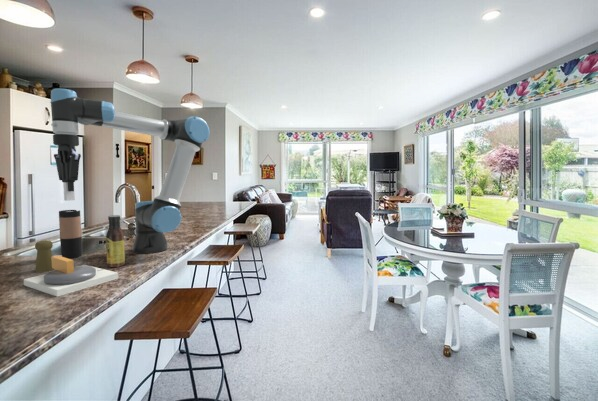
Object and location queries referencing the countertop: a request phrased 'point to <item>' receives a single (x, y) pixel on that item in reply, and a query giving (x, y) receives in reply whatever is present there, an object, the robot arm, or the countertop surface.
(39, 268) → the olive pepper mill
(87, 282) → the dial base
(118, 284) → the countertop surface
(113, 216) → the sauce bottle
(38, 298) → the countertop surface
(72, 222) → the travel mug
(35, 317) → the countertop surface
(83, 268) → the dial
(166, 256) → the countertop surface
